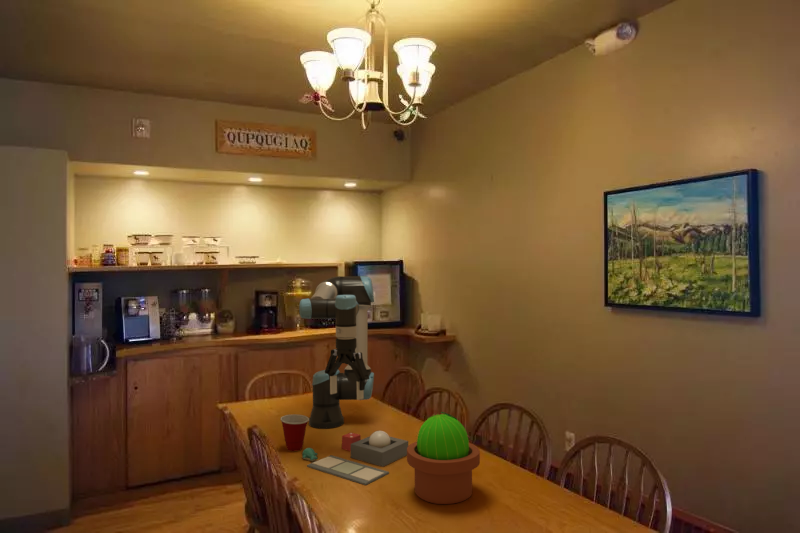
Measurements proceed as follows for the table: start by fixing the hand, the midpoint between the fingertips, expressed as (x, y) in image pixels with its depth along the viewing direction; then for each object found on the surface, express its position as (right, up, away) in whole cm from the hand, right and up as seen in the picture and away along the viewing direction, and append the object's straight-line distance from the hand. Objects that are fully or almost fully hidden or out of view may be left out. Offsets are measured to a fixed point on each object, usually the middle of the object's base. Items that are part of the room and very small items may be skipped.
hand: (346, 396), depth 205 cm
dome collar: (+12, -23, +3) cm, 26 cm away
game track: (+1, -23, -11) cm, 25 cm away
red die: (+1, -22, +11) cm, 25 cm away
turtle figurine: (-13, -23, 0) cm, 27 cm away
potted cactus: (+33, -23, -29) cm, 50 cm away
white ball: (+12, -21, +3) cm, 25 cm away
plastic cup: (-21, -23, +11) cm, 33 cm away
